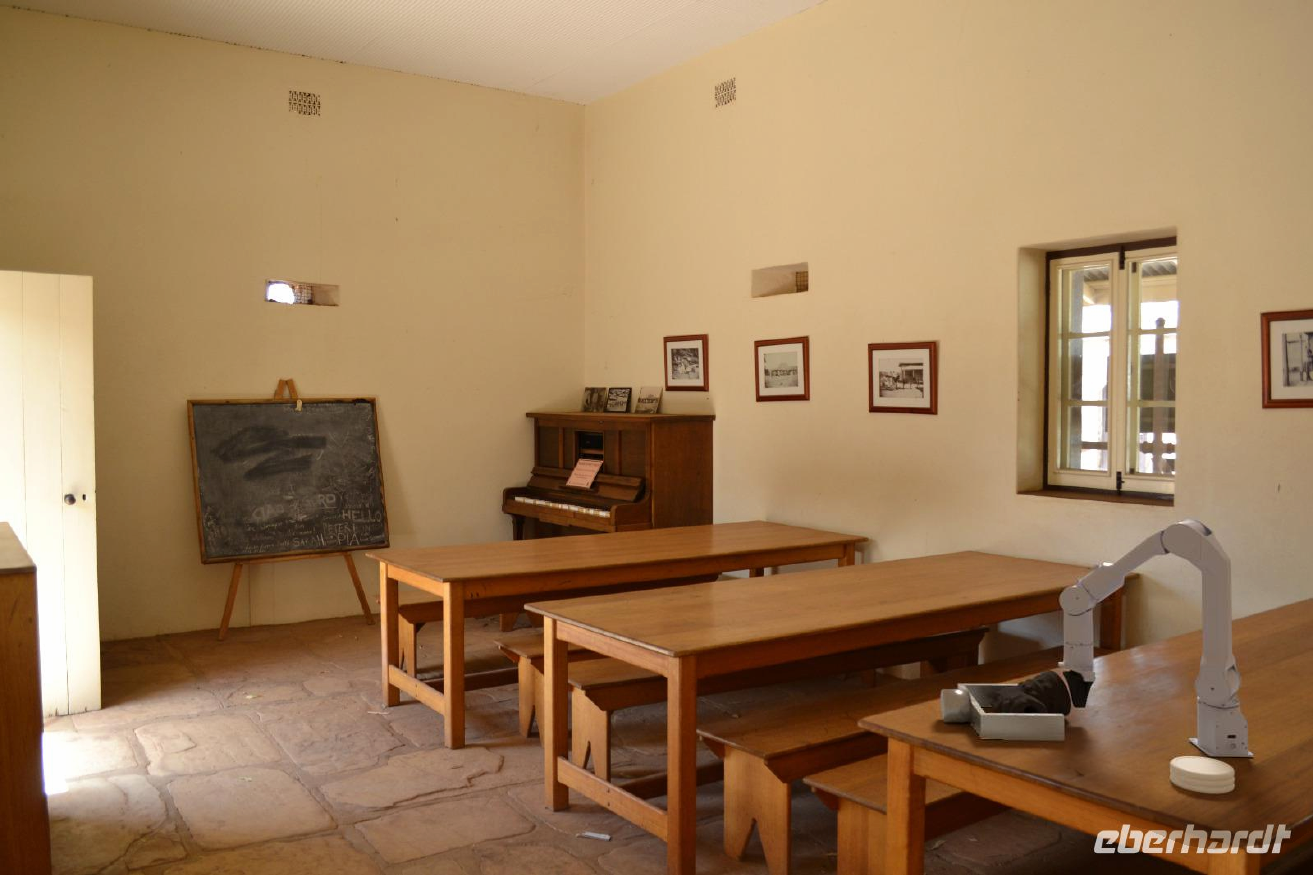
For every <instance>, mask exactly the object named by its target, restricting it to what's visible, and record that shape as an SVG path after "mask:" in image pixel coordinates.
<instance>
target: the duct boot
mask: <svg viewBox="0 0 1313 875" xmlns="http://www.w3.org/2000/svg"><path fill="white" fill-rule="evenodd" d="M1018 684H1019V683H957V688H954V689H953V688H951V689H945V688H943V689H942V688H941V691H940V712H941V718H942V721H943V720H944V721H943V722H944V723H964V722H970V723H971V724H972V726H973V727H974V728H975V730H976V732H978V734H979V736H980V737H981V738H990V739H1003V740H1002V741H1054V742H1055V741H1057V742H1058V741H1060V742H1061V741H1062V742H1064V741H1065V716H1064V715H1063V714H1016V713H1000V712H998V713H997V712H995V713H993V712H989V713H986V712H985V711H984V708H981V707H993V706H991V705H990V704H989V702H990V701H991V700H992V699H993V696H994V695H995V694H996V693H997V692H998V691H999V690H1001V689H1003V688H1006V687H1014V686H1017V685H1018ZM993 708H994V707H993ZM993 708H992V709H993ZM994 709H995V708H994ZM970 723H969V724H970ZM971 724H970V725H971ZM972 726H971V727H972ZM973 727H972V728H973ZM975 730H974V731H975ZM976 732H975V733H976ZM979 736H978V737H979Z"/></svg>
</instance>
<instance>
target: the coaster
mask: <svg viewBox="0 0 1313 875" xmlns="http://www.w3.org/2000/svg"><path fill="white" fill-rule="evenodd" d="M1169 767H1170V769H1169V773H1170V775H1169V779H1170V781H1171V782H1172V783H1173V784H1174V785H1175V786H1178V787H1179V788H1182V789H1185V790H1188V791H1192V792H1194V793H1195V792H1197V793H1203V794H1212V795H1215V794H1218V795H1219V794H1225V793H1230V792H1232V791H1233V790H1234V789H1235V786H1236V784H1235V781H1236V778H1235V773H1236V772H1235V769H1234V768H1233V766H1231V765H1230V764H1229V763H1226V762H1224V761H1222V760H1218V759H1215V758H1210V757H1205V756H1197V755H1196V756H1195V755H1194V756H1193V755H1190V756H1189V755H1185V756H1177V757H1175V758H1173V759H1171V760H1170V762H1169Z"/></svg>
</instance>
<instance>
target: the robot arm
mask: <svg viewBox="0 0 1313 875" xmlns="http://www.w3.org/2000/svg"><path fill="white" fill-rule="evenodd" d="M1169 554H1172V555H1174V556H1177V557H1179V558H1181V559H1184V560H1186V561H1188V562H1189V563H1191V565H1193V566H1194V567H1195V568H1197V569H1198V570H1199V571H1200V572H1201V608H1202V610H1201V612H1202V613H1201V614H1202V618H1201V619H1202V622H1201V623H1202V625H1201V626H1202V655H1201V659H1200V664H1199V673H1198V675H1197V678H1195V681H1194V690H1195V694H1196V695H1197V697H1196V706H1197V707H1196V708H1197V710H1196V711H1197V712H1196V714H1197V715H1196V716H1197V717H1196V718H1197V719H1196V724H1197V725H1196V726H1197V731H1196V733H1197V735H1196V736H1197V737H1193V738H1192V737H1190V738H1188V741H1189V742H1190V743H1192V744H1193V745H1194V746H1195V747H1196V748H1198V749H1200V750H1201V751H1202V752H1203V753H1205V754H1206V755H1207V756H1208V757H1209V756H1210V757H1228V758H1229V757H1233V758H1234V757H1237V758H1238V757H1241V758H1243V757H1244V758H1245V757H1246V758H1247V757H1248V758H1251V757H1252V758H1253V757H1254V753H1252V752H1251V751H1249V723H1248V721H1247V719H1246V717H1245V716H1244V715H1243V714H1242V712H1241V701H1240V699H1239V697H1238V695H1237V694H1236V693H1237V692H1238V691H1239V690H1240V688H1241V686H1242V677H1241V674H1240V673H1239V671H1238V669H1237V665H1236V658H1235V656H1234V653H1233V630H1232V629H1233V625H1232V624H1233V623H1232V621H1233V620H1232V617H1233V616H1232V610H1233V609H1232V608H1233V607H1232V605H1233V604H1232V562H1231V559H1230V557H1229V555H1228V554H1227V553H1226V551H1225V549H1224V548H1223V547H1222V545H1221V544H1220V543H1219V541H1218V539H1217V538H1216V536H1215V532H1214V530H1213V529H1211V528H1210V527H1208V526H1207V525H1205V524H1204V523H1202V522H1201V521H1200V520H1198V519H1194V518H1191V519H1190V518H1188V519H1187V518H1186V519H1183V520H1181V521H1180V522H1178V523H1177V522H1175V523H1173V524H1170V525H1169V526H1167V527H1166V528H1165V529H1162V530H1159V531H1158V532H1156V533H1154V534H1152V535H1150V536H1149V537H1147V538H1146V539H1144V540H1143V541H1141V543H1139V544H1138V545H1136V546H1135V547H1134V548H1133V549H1131V550H1130V551H1129V552H1127V553H1126V554H1125V555H1124V556H1122V557H1121V558H1119V559H1118V560H1117V561H1116V562H1114V563H1112V562H1111V563H1110V562H1103V563H1096V564H1095V565H1094V566H1092V567H1091V568H1092V569H1093V570H1092V571H1090V572H1089V573H1088V574H1086V575H1085V576H1083V577H1082V578H1081V577H1079V578H1076V579H1075V581H1074V582H1075V584H1074V585H1072V586H1066V587H1065V588H1064V589H1063V591H1062V592H1061V593H1060V595H1059V604H1060V607H1061V609H1062V610H1063V661H1059V662H1057V666H1058V667H1060V668H1064V669H1068V670H1063V671H1062V675H1063V677H1064V679H1065V681H1066V685H1067V688H1068V691H1069V694H1070V698H1071V704H1072V706H1073V708H1076V709H1085V708H1086V707H1087V702H1088V698H1089V695H1090V694H1089V693H1090V691H1091V688H1092V686H1093V684H1094V683H1095V682H1096V672H1095V665H1096V664H1095V663H1094V621H1093V620H1094V618H1093V613H1094V612H1093V609H1094V608H1095V606H1096V605H1097V603H1100V602H1101V601H1103V600H1104V599H1106V598H1107V597H1108V596H1110V595H1112V594H1113V593H1115V592H1116V591H1117V590H1119V589H1120V588H1122V587H1123V586H1124V585H1125V579H1126V576H1127V575H1128V574H1130V573H1131V572H1132V571H1134V570H1135V569H1138V568H1139V567H1140V566H1142V565H1143V564H1145V563H1147V562H1148V561H1150V560H1151V559H1153V557H1155V556H1166V555H1169Z"/></svg>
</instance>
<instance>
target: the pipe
mask: <svg viewBox="0 0 1313 875" xmlns="http://www.w3.org/2000/svg"><path fill="white" fill-rule="evenodd" d="M1017 684H1018V685H1017V686H1014V687H1006V688H1003V689H1001V690H999V691H998V692H997V693H996V694H995V695H994V696H993V699H992V700H991V701H990V702H989V704H990V705H991V706H993V707H994V709H995V710H996V711H997V712H998V713H1016V714H1063V715H1064V717H1067V716H1069V715H1070V714H1071V710H1072V700H1071V695H1070V691H1069V688H1068V685H1067V683H1066V682H1065V680H1064V679H1063V678H1062V677H1061V676H1060V675H1059V674H1058V673H1057V672H1055V670H1051V669H1050V670H1048V669H1047V670H1045V671H1044V672H1041V673H1040V674H1037V675H1035V676H1033V678H1027V679H1025V681H1020V682H1018V683H1017Z"/></svg>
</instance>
